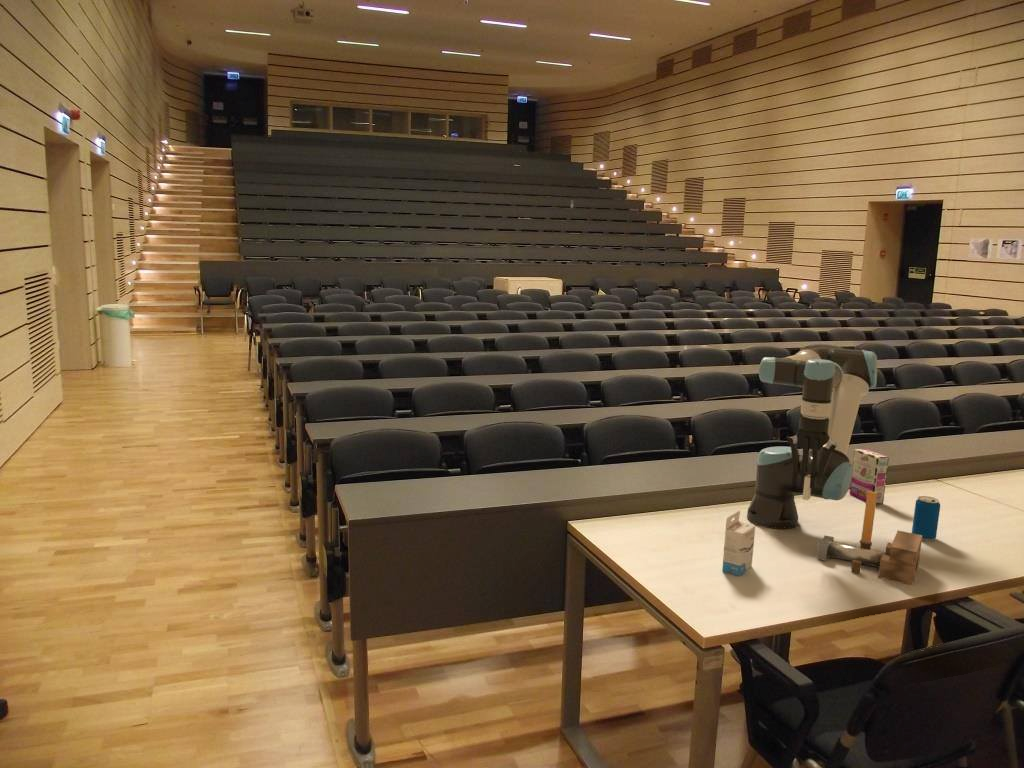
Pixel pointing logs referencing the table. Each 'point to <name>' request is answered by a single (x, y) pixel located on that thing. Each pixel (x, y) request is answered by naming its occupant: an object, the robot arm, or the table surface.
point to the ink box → (738, 545)
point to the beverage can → (926, 517)
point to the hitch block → (897, 558)
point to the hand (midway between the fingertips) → (806, 498)
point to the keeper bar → (869, 518)
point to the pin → (847, 552)
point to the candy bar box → (869, 474)
